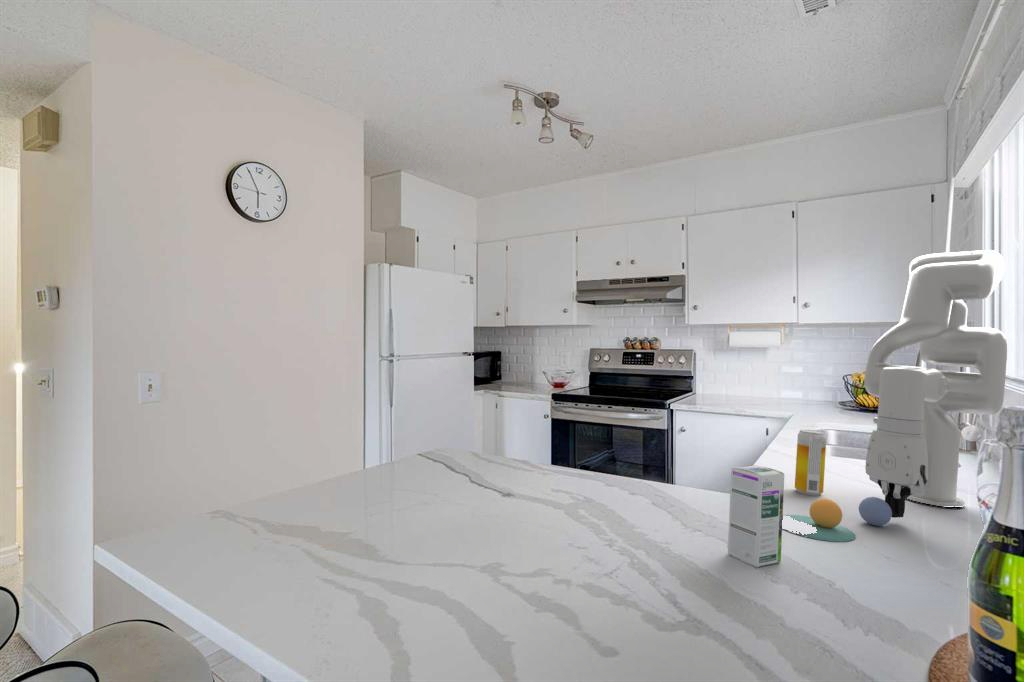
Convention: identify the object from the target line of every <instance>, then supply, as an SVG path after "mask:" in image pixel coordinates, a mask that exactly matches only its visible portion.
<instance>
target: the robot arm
mask: <svg viewBox="0 0 1024 682" xmlns="http://www.w3.org/2000/svg"><path fill="white" fill-rule="evenodd" d="M908 271H909V280H908V283H907V287H906V288H907V289H906V294H905V296H904V297H905V298H904V302H903V308H902V310H901V311H902V312H901V317H900V321H899V323H897V324H896V325H894V326H893V327H891V328H890V329H889V330H888V331H886V332H885V333H884V334H883V335H882V336H881V337H879V338H878V339H877V341H876V342H875V343H874V344H873V346H872V348H871V349H870V352H869V354H868V355H869V356H868V359H867V363H866V367H865V373H864V378H863V379H864V380H863V384H864V389H865V391H866V392H867V393H868V394H869V395H870V396H872V397H874V398H878V406H877V417H874V418H873V424H876V429H873V430H872V433H871V435H870V438H869V442H868V445H867V452H866V457H865V465H864V466H865V468H864V469H865V473H866V475H867V476H868V478H869V480H870V481H872V482H874V483H875V484H877V485H878V486H879V487H880V489H881V493H882V495H884V497H885V498H884V501H885V502H886V503H887V504H888V505H889V506H890V508H891V511H892V517H891V518H904V516H905V511H906V507H905V506H906V500H908V499H910V500H909V501H911V500H914V501H918V502H921V503H920V504H922V503H926V504H931V505H930V506H932V505H938V506H954V507H955V506H963V505H964V504H965V501H964V500H963V499H961V498H959V497H957V491H958V489H957V488H958V476H959V475H958V473H959V457H960V443H961V441H960V440H961V431H960V428H959V426H958V424H957V423H956V422H955V420H954V419H953V418H952V417H951V416H950V415H949V414H948V413H949V412H952V413H962V414H972V415H981V416H982V415H983V416H991V415H995V414H998V413H999V412H1000V411H1001V410H1002V408H1003V404H1004V400H1005V398H1004V397H1005V386H1006V372H1007V363H1008V362H1007V361H1008V343H1007V337H1006V336H1005V334H1004V333H1003V332H1002V331H1001V330H999V329H997V328H993V327H980V326H978V327H976V326H973V327H972V326H970V327H969V326H968V325H967V323H968V322H967V319H968V310H969V309H968V307H967V304H966V303H965V302H964V300H965V301H967V300H968V301H973V300H974V301H975V300H984V299H986V298H988V297H989V296H991V295H992V293H993V292H994V290H995V289H996V287H997V286H998V285H999V283H1000V282H1001V281H1002V279H1003V276H1004V271H1005V262H1004V258H1003V255H1001V254H1000V253H999V252H998V251H997V250H992V249H988V250H987V249H984V250H982V249H981V250H971V251H968V250H967V251H958V252H957V251H955V252H954V251H953V252H950V251H949V252H940V253H930V254H925V255H920V256H917V257H916V258H914V259H912V261H911V262H910V263H909V269H908ZM918 343H919V356H920V359H921V360H922V362H924V363H927V364H929V365H935V366H941V367H942V366H943V367H958V368H959V367H961V368H974V369H977V370H978V373H977V372H968V371H967V372H964V371H954V370H953V371H952V370H939V369H936V368H934V367H926V366H912V365H900V364H899V365H896V364H887V361H888V359H889V358H890V357H891V356H892V355H894V354H895V353H896V352H898V351H899V350H902V349H903V348H906V347H908V346H912V345H915V344H918ZM905 498H907V499H905ZM914 501H913V502H914ZM918 502H917V503H918ZM926 504H925V505H926ZM964 506H965V505H964Z"/></svg>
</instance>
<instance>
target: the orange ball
mask: <svg viewBox="0 0 1024 682" xmlns="http://www.w3.org/2000/svg"><path fill="white" fill-rule="evenodd" d="M809 515H810V516H809V517H811V518H812V520H813V521H814V522H815V523H816V524H817V525H819V526H821V527H824V528H833V527H835V526H837V525H840V524H841V522H842V520H843V510H842V509H841V507H840V506H839V505H838V504H837V502H835V501H833V500H832V499H829V498H819V499H816V500H814V501H813V502H812V503H811V505H810V507H809Z"/></svg>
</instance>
